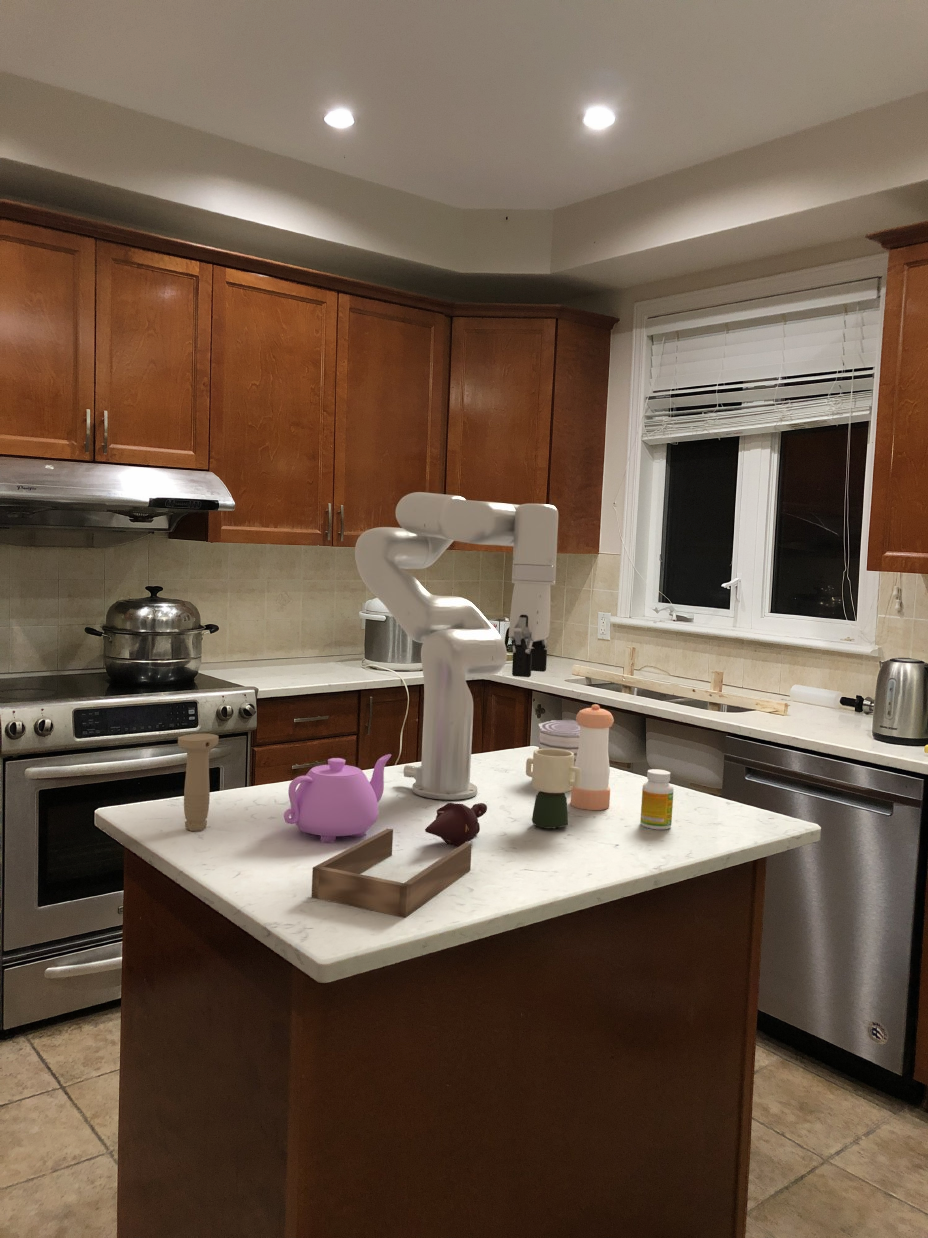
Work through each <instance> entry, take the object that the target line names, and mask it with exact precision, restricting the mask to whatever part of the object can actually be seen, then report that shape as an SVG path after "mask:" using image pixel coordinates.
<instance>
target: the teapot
mask: <svg viewBox="0 0 928 1238" xmlns="http://www.w3.org/2000/svg"><path fill="white" fill-rule="evenodd" d="M391 756H392V754H391V753H389V754H385V755H383V756H381V757H380V758H378V760H377V761H376V763H375V765H374V768H373V771H372V775H371V778H370V781H369V779H368V778H367V775H366V774H365V773H364V772H363V770H362V769H361V768H359V767H357V766H353V765H347V764H346V759H344V758H340V757H332V758H328V759H327V764H322V765H321V764H320V765H316V766H313V767H312V768H311V769H309V771H308V772H307V773H306V774H305V775H300V776H297V777H295V778H293V780H291V782H289V785H288V789H287V790H288V791H287V792H288V799H289V803H290V808H288V809H286V810H285V811H284V813H283V820H284V821H285V822H286V823H287V824H289V825H294V824H295V825H296V826H297V827H298V829H299V830H301V832H302V833H305V834H311V835H315V836H321V837H320V838H319V839H320V840H319V841H320V842H322V843H326V844H327V843H330V844H331V843H334V842H335V841H336V837H346V836H351V837H355V838H361V837H363V838H364V837H366V836H367V834H366V831H368V830H369V829H370V828H371V827H372V826H373V824H375V823H376V821H377V820H378V818H379V804H378V803H379V802H380V801H381V799H382V797H383V794H384V789H385V787H384V786H385V782H384V781H385V780H384V779H385V778H384V777H385V776H384V775H385V773H384V772H385V766H386V764H387V762H388V761H389V759H390V758H391Z"/></svg>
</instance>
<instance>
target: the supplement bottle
mask: <svg viewBox="0 0 928 1238" xmlns="http://www.w3.org/2000/svg"><path fill="white" fill-rule="evenodd" d="M646 778H647V780H648V781H645V782H644V783H643V785H642V789H641V792H642V793H641V808H640V820H639V821H640V823H639V824H640V825H641V826H642V827H644V828H647V829H650V830H664V831H665V830H668V829H671V827H672V824H673V823H672V821H673V820H672V819H673V807H674V805H673V804H674V790H675V789H674V787H673V785H672V784H671V783H669V782H670V781H671V771H667V770H665V769H660V768H659V769H656V768H654V769H652V768H651V769H648V770H647V774H646Z"/></svg>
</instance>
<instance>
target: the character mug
mask: <svg viewBox="0 0 928 1238" xmlns="http://www.w3.org/2000/svg"><path fill="white" fill-rule="evenodd" d="M532 757H533V758H532ZM532 757H527V758H526V761H525V762H526V763H525V774H526V776H528V777H531V787H532V788H533V789H534V790H537V791H538V792H537V794H536V796H535V801H534V805H533V810H532V817H531V823H532V824H534V825H535V826H536V827H540V828H544V829H547V828H548V829H550V828H551V829H553V828H554V829H559V828H562V827H566V826H569V812H568V811H569V809H568V800H567V797H566V796H567V795H566V794H565V793H567V792H569V791H571V788H572V786H575V787H579V785H580V779H581V770H580V769H579V768H577V767H574V753H572V752H570V751H567V750H561V749H539V748H538V749H537V748H536V749H535V750H533V753H532ZM574 773H575V781H574Z"/></svg>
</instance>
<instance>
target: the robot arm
mask: <svg viewBox="0 0 928 1238" xmlns="http://www.w3.org/2000/svg"><path fill="white" fill-rule="evenodd" d="M395 519H396V520H397V523H398V524H399V526H400V527H391V526H389V527H388V526H381V527H379V526H378V527H374V528H373V527H372V528H371V529H367V530H366V531H364V532H362V534H360V536H358V538H357V540H356V543H355V548H354V558H355V559H354V560H355V564H356V569H357V571H358V573H359V576H360V578H361V580H362V581H363V584H365V586H366V587H367V588H368V590H369V591H370V592H371V593H372V594H373V595H374V596H375V597H376V598H377V599H378V600H379V601H380V603H382V604H383V605H384V607H385V608H386V609H387V610H388V612H389V614H391V616H392V617H393V618H394V619H395V621H396V623H398V625H399V626H400V627H401V629H402V630H403V632H405V634H406V635H407V636H408V637H409V638H410V639H411V640H413V641H414V642H416V643H420V644H422V645H421V649H420V661H421V667H422V675H423V687H424V688H423V690H424V693H423V698H424V699H423V719H422V720H423V721H422V722H423V723H422V739H421V740H422V742H421V762H420V763H421V764H420V765H419V766H414V765H408V764H405V766H404V768H403V776H404V777H405V778H413V779H414V780H415V782H414V783H412V785H411V788H412V790H411V791H412V792H413V794H416V795H417V796H420V797H422V798H428V799H433V800H445V801H458V800H465V799H471V798H473V797H474V796H475V797H476V795H477V794H478V786H477V785H475V784H474V783H472V782H471V762H472V760H471V759H472V743H473V725H474V723H473V722H474V698H473V695H472V693H471V689H470V688H469V686H468V683H467V679H471V678H483V677H484V678H485V677H491V676H493V675H496V674H498V673H500V672H501V671H502V670H503V669H504V667H505V665H506V663H507V656H508V651H507V646H506V644H505V641H504V639H503V637H502V636H501V634H500V632H498V631H497V629H496V628H495V627H494V626H493V624H491V622H490V621H489V620H488V619H487V618H486V616H484V614H483V613H482V612H481V611H480V609H478V608H477V607H476V605H475V604H473V603H472V602H471V601H470V600H468V599H466V598H464V597H461V596H457V595H456V596H455V595H454V596H453V595H435V594H432V593H430V592H429V591H428V590H427V589H426V588H424V586H423V585H422V584H421V582H420V581H419V580H418V579H417V578H416V577H415V576H413V575H412V574H410V573H409V572H407V571H406V570H407V569H408V570H422V569H426V568H429V567H430V566H431V565H434V563H435V562H436V561H437V560H438V559H439V558H440V557H441V556H442V554H443V553H444V552H445V551H447V549H448V548H449V547H450V545H451V544H453V542H460V543H467V544H473V545H486V546H487V545H488V546H489V545H490V546H503V547H504V546H505V547H513V550H512V551H513V552H512V553H513V554H512V569H511V570H512V574H511V575H512V576H511V584H514V586H513V590H512V596H511V597H512V598H511V605H510V615H509V628H508V637H509V639H510V640H511V641H512V643H513V647H512V666H511V667H512V668H511V675H512V676H513V677H518V678H519V677H522V678H530V677H531V676H532V672H543V673H544V672H547V662H548V658H547V657H548V641H547V639H548V637H549V635H550V630H551V629H550V627H551V597H552V595H551V586H555V585H556V577H557V576H556V574H557V554H558V553H557V551H558V530H559V510H558V508H556V506H555V505H552V504H545V503H523V504H515V503H505V502H504V503H503V502H495V501H483V500H481V501H479V500H470V499H466V498H465V497H462V496H460V495H455V494H443V493H434V492H422V491H418V492H416V491H415V492H411V493H407V494H406V495H405V496H402V498H400V500H399V501H398V503H397V505H396V507H395ZM404 569H405V570H404Z"/></svg>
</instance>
